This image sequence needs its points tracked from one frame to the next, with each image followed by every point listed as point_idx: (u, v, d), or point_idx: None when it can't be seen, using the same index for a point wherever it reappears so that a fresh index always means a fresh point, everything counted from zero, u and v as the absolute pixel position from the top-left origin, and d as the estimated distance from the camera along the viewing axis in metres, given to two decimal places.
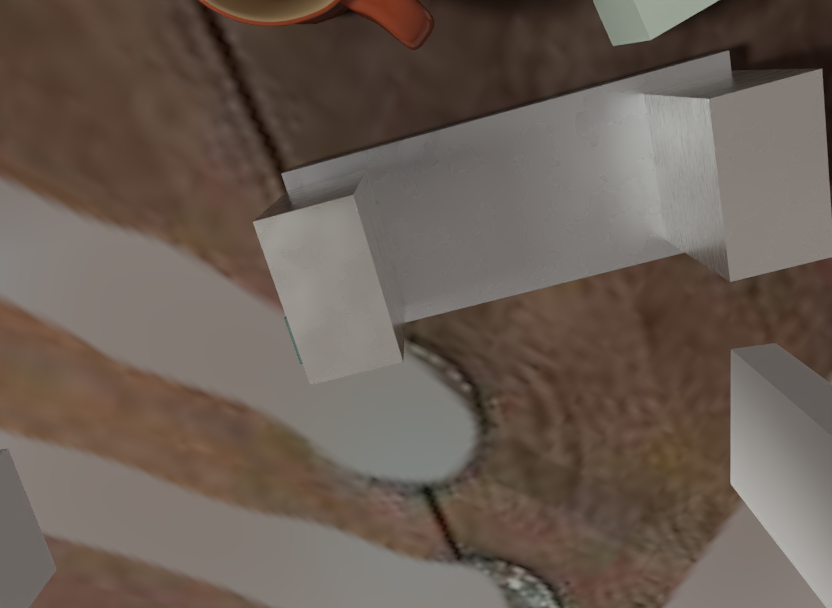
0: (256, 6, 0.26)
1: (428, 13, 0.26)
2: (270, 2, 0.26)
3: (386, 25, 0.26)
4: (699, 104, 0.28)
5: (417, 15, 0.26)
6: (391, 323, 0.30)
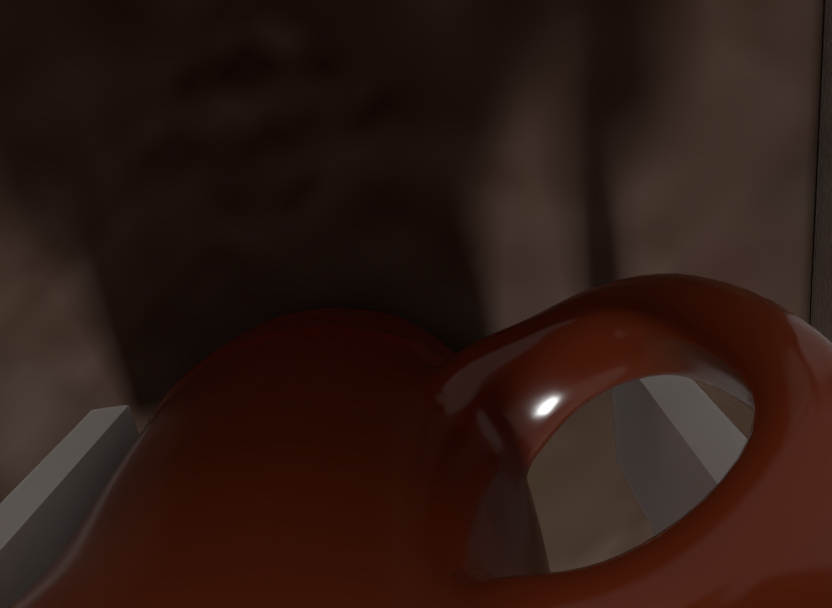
0: None
1: (816, 391, 0.05)
2: None
3: None
4: None
5: None
6: None
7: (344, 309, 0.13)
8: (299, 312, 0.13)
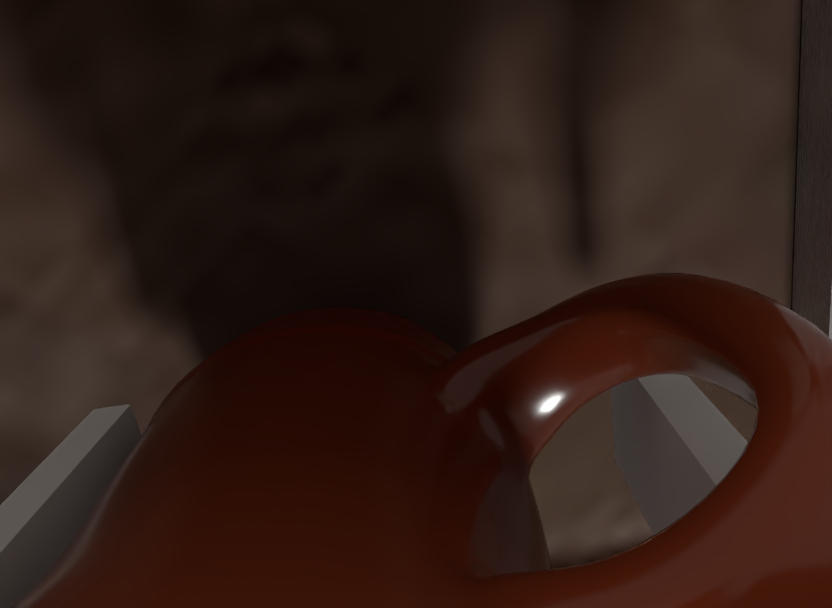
0: None
1: (819, 389, 0.05)
2: None
3: None
4: None
5: None
6: None
7: (346, 308, 0.13)
8: (301, 311, 0.13)
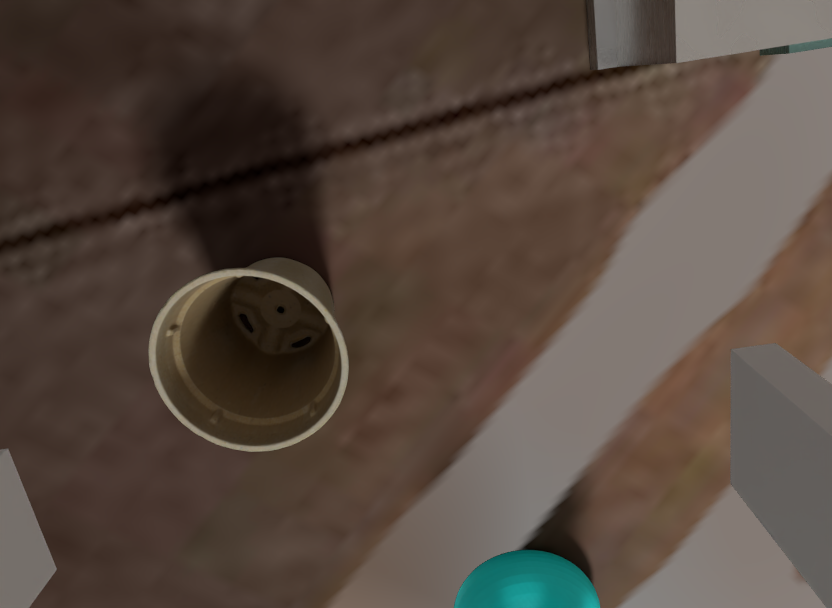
0: None
1: None
2: None
3: None
4: None
5: None
6: None
7: None
8: None
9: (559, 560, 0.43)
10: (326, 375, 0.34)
